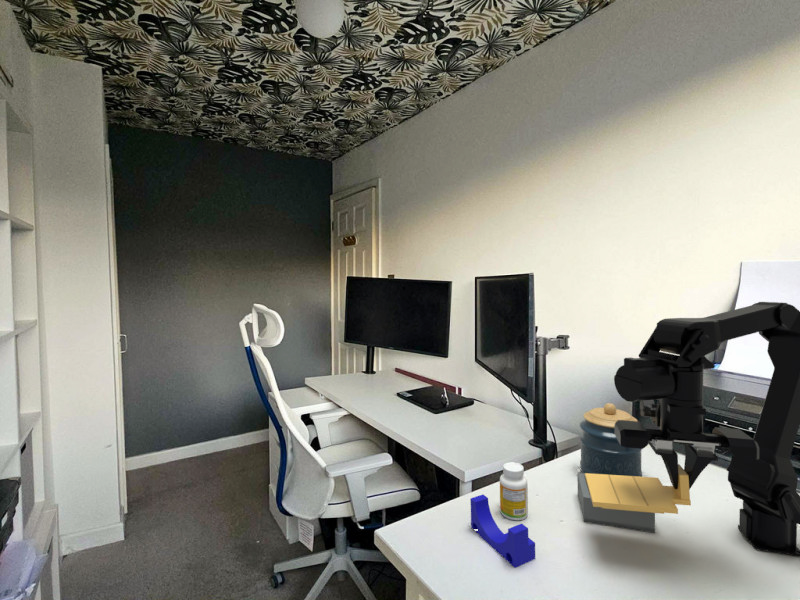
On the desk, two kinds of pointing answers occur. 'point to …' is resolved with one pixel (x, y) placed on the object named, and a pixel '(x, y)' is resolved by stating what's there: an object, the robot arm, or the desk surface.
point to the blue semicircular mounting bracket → (501, 534)
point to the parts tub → (612, 512)
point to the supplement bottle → (513, 492)
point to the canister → (607, 444)
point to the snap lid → (638, 492)
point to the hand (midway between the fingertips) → (680, 488)
